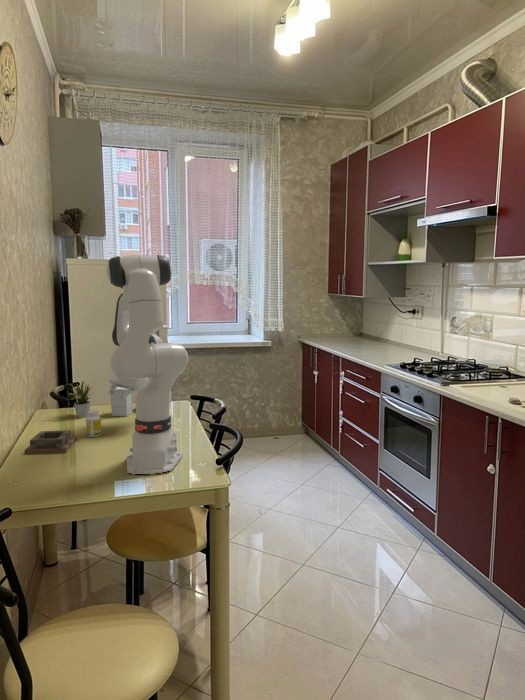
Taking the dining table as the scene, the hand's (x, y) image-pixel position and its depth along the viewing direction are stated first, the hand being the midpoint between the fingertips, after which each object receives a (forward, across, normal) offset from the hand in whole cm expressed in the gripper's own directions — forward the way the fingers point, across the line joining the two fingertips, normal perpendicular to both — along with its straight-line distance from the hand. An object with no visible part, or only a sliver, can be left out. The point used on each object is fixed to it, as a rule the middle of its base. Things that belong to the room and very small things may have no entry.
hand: (116, 395), depth 202 cm
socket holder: (+30, +1, -10) cm, 31 cm away
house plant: (+9, -32, +11) cm, 35 cm away
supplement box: (0, -19, +20) cm, 28 cm away
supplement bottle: (+18, 0, +2) cm, 18 cm away
